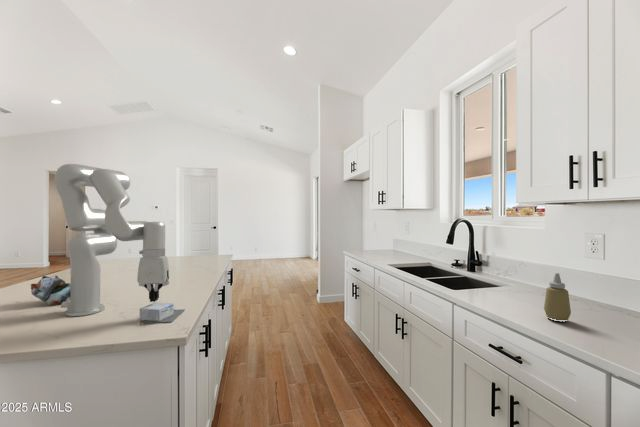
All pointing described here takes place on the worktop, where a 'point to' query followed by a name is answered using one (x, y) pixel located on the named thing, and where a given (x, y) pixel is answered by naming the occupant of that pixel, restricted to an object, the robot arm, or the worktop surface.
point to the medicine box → (156, 311)
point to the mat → (168, 319)
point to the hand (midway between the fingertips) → (153, 300)
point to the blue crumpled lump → (51, 290)
